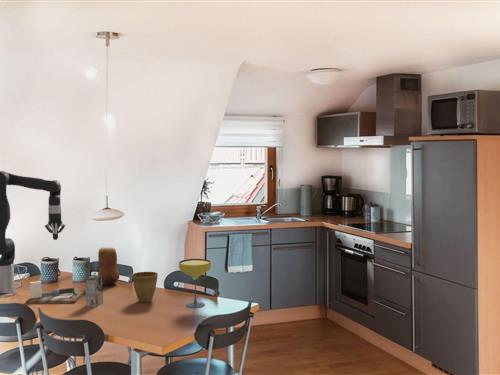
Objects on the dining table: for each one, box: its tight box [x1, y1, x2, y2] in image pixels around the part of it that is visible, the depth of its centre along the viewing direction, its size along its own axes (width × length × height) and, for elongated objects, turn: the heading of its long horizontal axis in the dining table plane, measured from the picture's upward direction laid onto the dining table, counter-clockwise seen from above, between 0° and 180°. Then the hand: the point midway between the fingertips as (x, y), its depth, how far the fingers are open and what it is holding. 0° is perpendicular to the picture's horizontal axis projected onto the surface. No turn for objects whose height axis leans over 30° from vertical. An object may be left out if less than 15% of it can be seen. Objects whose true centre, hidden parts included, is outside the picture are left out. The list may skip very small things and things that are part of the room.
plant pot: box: [131, 271, 159, 303], centre depth 319 cm, size 15×15×16 cm
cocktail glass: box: [178, 258, 212, 309], centre depth 310 cm, size 18×18×25 cm
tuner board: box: [25, 290, 85, 305], centre depth 325 cm, size 28×20×3 cm
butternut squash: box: [97, 246, 120, 286], centre depth 357 cm, size 14×13×25 cm
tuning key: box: [29, 280, 75, 298], centre depth 324 cm, size 24×4×9 cm, turn 116°
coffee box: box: [84, 274, 104, 308], centre depth 312 cm, size 9×6×16 cm
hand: (55, 239), depth 343 cm, fingers closed
